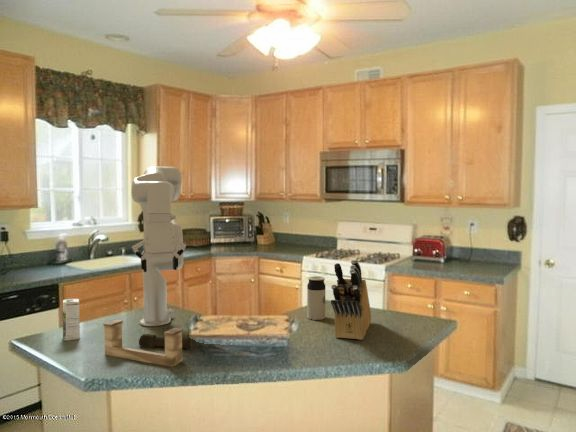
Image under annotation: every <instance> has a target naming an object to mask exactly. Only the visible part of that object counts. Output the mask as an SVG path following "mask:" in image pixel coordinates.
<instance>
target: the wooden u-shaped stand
mask: <svg viewBox="0 0 576 432" xmlns="http://www.w3.org/2000/svg"><path fill="white" fill-rule="evenodd" d="M123 321H124V320H122V319H113V320H110V321H107V322H104V323H103V327H104V330H103V331H104V355H105V356H109V357H115V358H119V359H121V358H122V359H127V360H133V361H138V362H142V363H148V364H154V365H160V366H165V367H170V366H171V368H173V366H174V367H176V366H177V365H178V363H179V364H180V362H181V363H183V348H182V338H183V331H184V329H183V328H178V327H173V328H170V329H168V330H166V331H164V332H163V335H164V337H165V347H164V353H161V352H160V353H158V352H154V351H149V350H148V351H147V350H141V349H135V348H128V347H123Z"/></svg>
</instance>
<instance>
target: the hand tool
mask: <svg viewBox="0 0 576 432" xmlns="http://www.w3.org/2000/svg"><path fill="white" fill-rule="evenodd" d="M191 342H192V338H190V337H184V338H183V337H182V349H186V350H187V349H188V350H189V349H190V348H191V344H192V343H191ZM138 346H139V347H143V348H149V349H150V348H151V349H152V348H153V349H154V348H155V347H159V348H165V336H164V337H162V336H157V335H156V334H151V333H150V334H149V333H145V334H144V333H143V334H142V335H140V337H139V339H138Z"/></svg>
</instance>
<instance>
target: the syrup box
mask: <svg viewBox="0 0 576 432" xmlns="http://www.w3.org/2000/svg"><path fill="white" fill-rule="evenodd" d="M80 315H81V314H80V298H66V299H63V300H62V341H63V342H66V341H73V340H79V339H80V338H81V337H80V336H81V335H80V334H81V330H80V328H81V326H80Z"/></svg>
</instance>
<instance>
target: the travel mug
mask: <svg viewBox="0 0 576 432" xmlns="http://www.w3.org/2000/svg"><path fill="white" fill-rule="evenodd" d="M307 279H308V282H307V286H306V289H307V290H306V293H307V294H306V295H307V300H306V301H307V303H306V304H307V305H306V306H307V307H306V308H307V309H306V316H307V319H309V320H311V319H312V320H311V321H322V320H325V319H326V283H325V279H326V278H325V277H324V276H319V275H314V276H308V277H307Z"/></svg>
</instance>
